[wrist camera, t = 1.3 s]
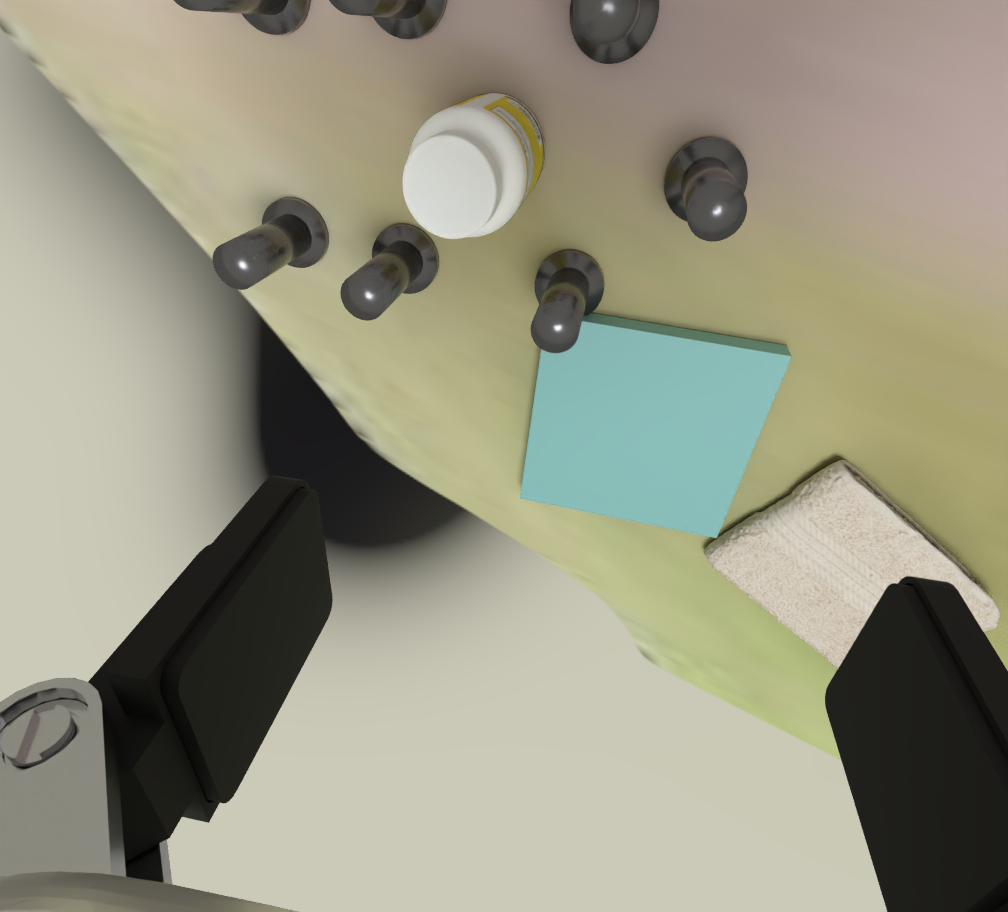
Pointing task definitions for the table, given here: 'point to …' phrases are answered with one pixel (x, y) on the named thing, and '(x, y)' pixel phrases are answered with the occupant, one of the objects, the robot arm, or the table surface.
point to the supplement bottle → (473, 166)
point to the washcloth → (836, 559)
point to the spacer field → (410, 251)
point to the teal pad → (649, 422)
